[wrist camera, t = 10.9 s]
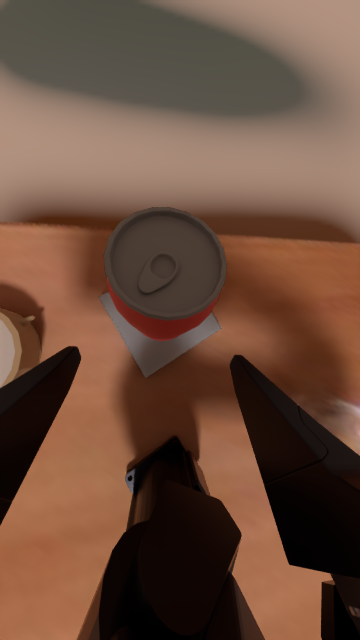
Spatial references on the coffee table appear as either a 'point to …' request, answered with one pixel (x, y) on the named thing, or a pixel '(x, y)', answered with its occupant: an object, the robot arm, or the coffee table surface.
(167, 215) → the beer can
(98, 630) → the robot arm
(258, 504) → the coffee table surface
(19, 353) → the alarm clock
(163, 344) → the slate tile
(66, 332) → the coffee table surface
